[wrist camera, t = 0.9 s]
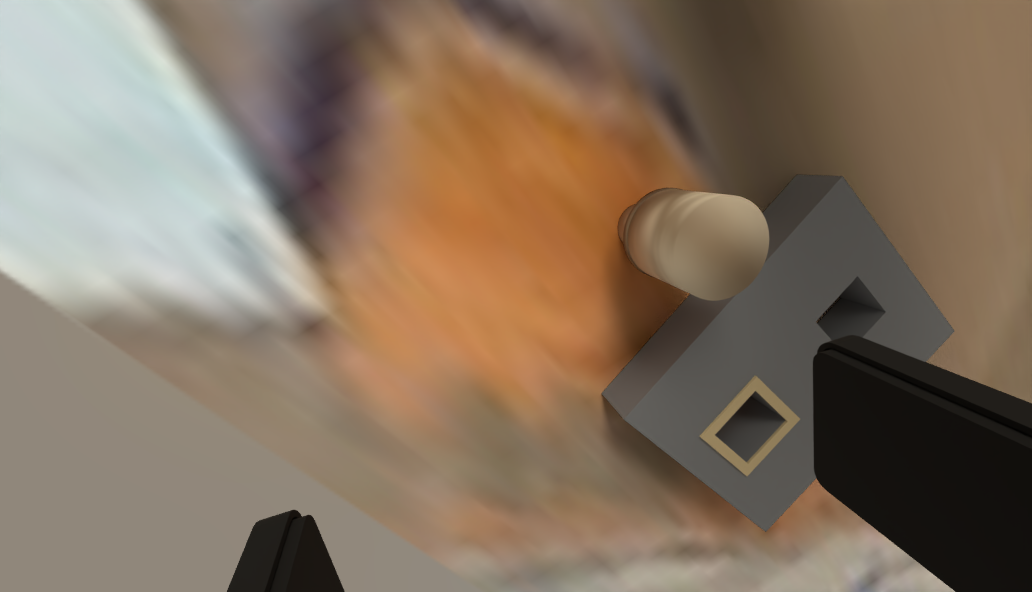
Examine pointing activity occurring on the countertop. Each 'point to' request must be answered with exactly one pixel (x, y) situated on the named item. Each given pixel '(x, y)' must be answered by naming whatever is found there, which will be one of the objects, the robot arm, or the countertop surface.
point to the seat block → (774, 349)
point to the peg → (696, 240)
